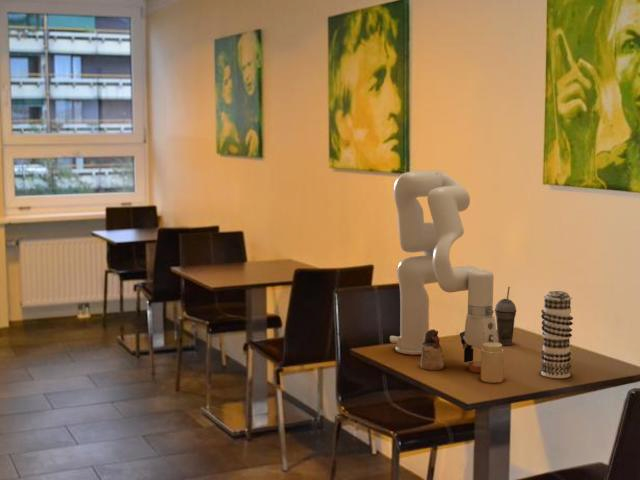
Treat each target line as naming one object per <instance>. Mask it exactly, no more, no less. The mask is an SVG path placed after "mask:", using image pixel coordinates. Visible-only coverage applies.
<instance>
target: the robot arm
mask: <svg viewBox="0 0 640 480" xmlns="http://www.w3.org/2000/svg"><path fill="white" fill-rule="evenodd" d="M423 197H424V198H425V197H426V198H427V205H428V208H429V212H430V216H431V220H432V222H430V221H429V222H425V219H424V210H423V207H422V204H421V203H420V201H419V200H418V199H417V198H423ZM470 197H471V196H470V194H469V192H468V190H467V188H465V186H463V185H462V183H460V182H458V181H457V180H456V179H454V178H453V177H451V176H450V175H449V174H447V173H446V172H445V171H442V170H439V169H436V170H434V169H433V170H412V171H407V172H404V173H402V174H400V175H399V176H398V177H397V179H395V182H394V185H393V198H394V199H393V200H394V202H395V207H396V211H397V213H396V214H397V226H398V236H399V245H400V248H401V249H402V251H403V252H406V253H411V254H413V253H421V252H423V253H424V255H416V256H409V257H406V258H404V259H402V260H401V261H400V262H399V263H398V265H397V270H396V273H397V274H396V275H397V279H398V285H399V286H398V287H399V299H400V301H399V304H400V305H399V306H400V307H399V308H400V309H399V311H400V312H399V314H400V319H399V321H400V322H399V323H400V326H399V333H400V335H399V336H396V335H390V336H389V342H390V343H392V344H397V345H396V346H395V351H396V352H397V353H400V354H404V355H414V356H417V355H418V356H422V348H423V346H424V345H423V343H424V341H425V336H426V335H425V334H426V333H427V332H428V331H429V330H430V297H429V294H428V291H427V289H426V288H425V285H428V284H429V285H430V284H438V286H439V288H440V289H441V290H442V291H443V292H445V293H450V294H451V293H457V292H465V291H467V313H466V318H465V324H464V331H462V332H459V338H460V342H461V345H462V349H463V362H464V363H470V362H473V361H474V348H478V349H480V350H481V349H482V348H483V347H482V346H483V343H487V342H496V343H499V342H498V337H497V322H496V317H495V316H494V313H495V310H494V280H495V279H494V277H495V276H494V273H493V272H492V271H491V270H487V269H480V268H478V267H475V266H474V265H464V266H454V267H452V264H451V259H450V251H451V248H452V246H453V244H454V243H455V242H456V241H457V240H458V239H460V238H462V237H463V235H464V233H465V230H464V229H465V228H464V226H463V222H462V220H461V215H460V213H461V212H464V211H466V210H467V209H468V208H469V206H470V204H471V198H470ZM473 347H474V348H473Z"/></svg>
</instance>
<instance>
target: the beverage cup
mask: <svg viewBox="0 0 640 480" xmlns="http://www.w3.org/2000/svg"><path fill="white" fill-rule="evenodd" d="M510 289H511V287H510V286H507V292H506V298H502V299H500V300H499V301H497V302H496V305H495V309H494V315H495V321H496V335H497V341H498V342H499V343H500V344H502V346H511V345H512V344H513V337H514V329H515V318H516V315H517V307H516V304H515V303H514V301H513V300H511V299H509V298H510V297H509V296H510Z"/></svg>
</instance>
